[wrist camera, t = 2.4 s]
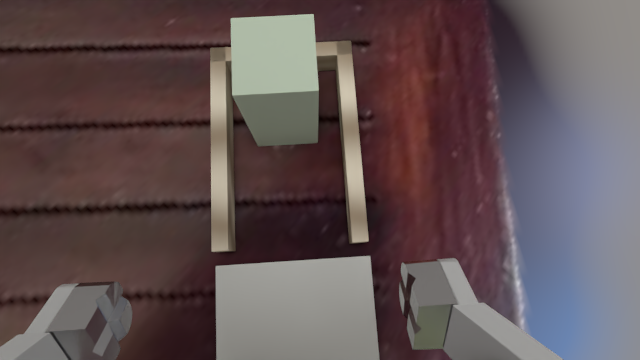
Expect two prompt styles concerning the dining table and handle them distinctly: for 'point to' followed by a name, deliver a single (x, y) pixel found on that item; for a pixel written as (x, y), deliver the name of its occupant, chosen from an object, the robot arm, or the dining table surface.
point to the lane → (223, 147)
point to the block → (276, 77)
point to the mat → (296, 310)
